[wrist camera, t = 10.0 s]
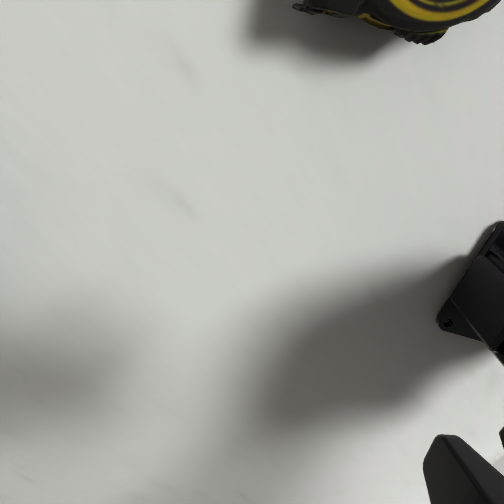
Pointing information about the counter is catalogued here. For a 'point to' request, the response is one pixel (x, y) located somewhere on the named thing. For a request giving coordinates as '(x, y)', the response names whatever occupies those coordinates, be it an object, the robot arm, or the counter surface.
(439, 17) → the tape measure
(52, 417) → the counter surface
